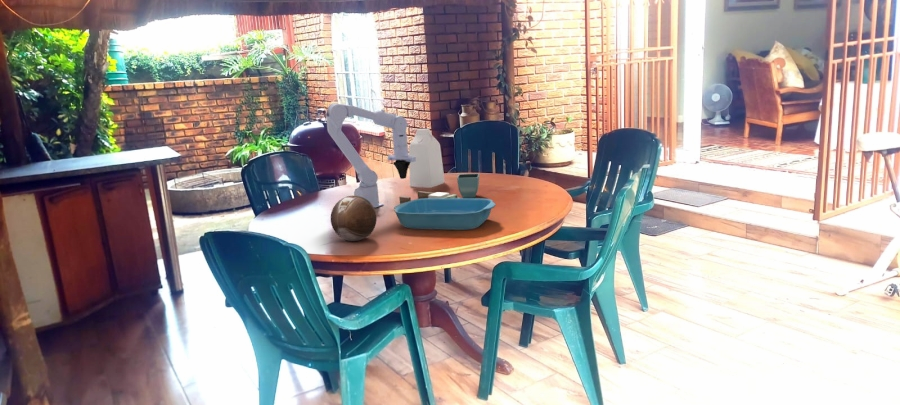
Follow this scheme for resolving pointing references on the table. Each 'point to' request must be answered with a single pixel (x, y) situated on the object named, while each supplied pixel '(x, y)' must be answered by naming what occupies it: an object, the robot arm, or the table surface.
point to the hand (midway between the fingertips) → (403, 178)
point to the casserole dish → (444, 213)
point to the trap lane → (422, 196)
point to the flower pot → (468, 185)
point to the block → (438, 195)
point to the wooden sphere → (353, 218)
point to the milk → (425, 160)
